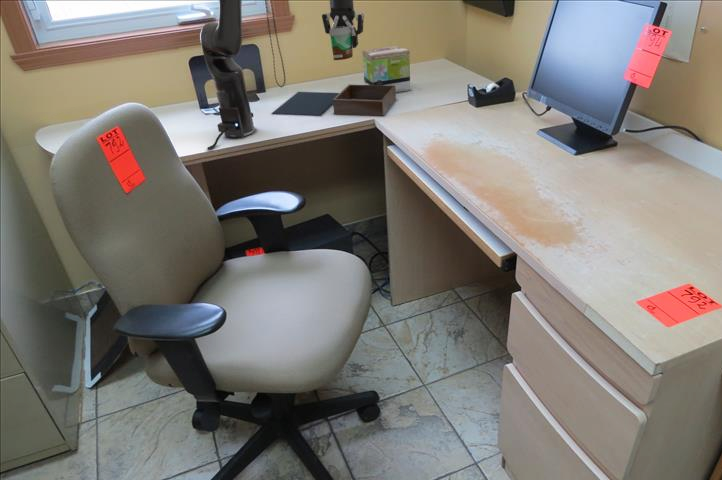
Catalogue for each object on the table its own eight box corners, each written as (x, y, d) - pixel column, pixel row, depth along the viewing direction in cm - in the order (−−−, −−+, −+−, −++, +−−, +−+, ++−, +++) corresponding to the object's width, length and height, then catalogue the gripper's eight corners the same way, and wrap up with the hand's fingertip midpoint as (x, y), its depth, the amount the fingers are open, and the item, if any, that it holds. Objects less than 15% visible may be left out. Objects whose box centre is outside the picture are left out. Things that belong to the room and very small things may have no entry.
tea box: (374, 97, 204) (371, 55, 196) (364, 90, 212) (361, 49, 204) (411, 90, 209) (409, 49, 201) (400, 83, 217) (398, 44, 208)
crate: (383, 116, 187) (382, 101, 184) (334, 114, 191) (332, 99, 188) (396, 99, 201) (395, 85, 198) (349, 98, 205) (348, 84, 202)
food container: (350, 61, 182) (347, 28, 176) (332, 61, 183) (328, 28, 177) (360, 52, 192) (357, 21, 186) (343, 52, 193) (340, 21, 187)
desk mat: (320, 115, 190) (320, 114, 190) (272, 114, 194) (272, 112, 194) (342, 94, 209) (342, 93, 209) (298, 92, 213) (298, 91, 213)
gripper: (315, -7, 175) (321, 49, 184) (358, -7, 172) (362, 50, 181) (323, -10, 181) (329, 44, 190) (365, -10, 178) (369, 45, 187)
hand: (345, 47), depth 186 cm, fingers closed on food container, 6 cm apart
